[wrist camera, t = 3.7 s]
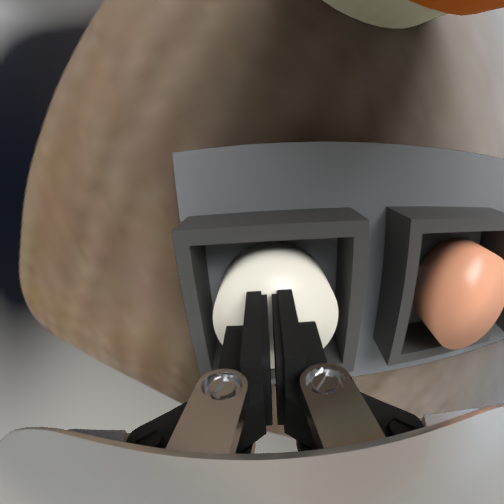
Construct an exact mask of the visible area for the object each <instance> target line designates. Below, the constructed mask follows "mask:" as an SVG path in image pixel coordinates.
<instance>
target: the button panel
mask: <svg viewBox="0 0 504 504" xmlns="http://www.w3.org/2000/svg"><path fill="white" fill-rule="evenodd" d="M172 154H173V165H174V175H175V184H176V193H177V201H178V209H179V217H180V224H179V225H178V226H177V227H176V228H175V229H174V230H173V231H172V238H173V244H174V250H175V257H176V263H177V269H178V274H179V280H180V285H181V291H182V296H183V301H184V306H185V311H186V316H187V321H188V326H189V330H190V335H191V339H192V344H193V348H194V353H195V357H196V361H197V365H198V369H199V373H200V377H202V376H203V375H204V374H206V373H208V372H210V371H213V370H217V369H218V368H219V362H220V357H221V351H222V346H223V345H222V344H221V343H220V341H219V339H218V337H217V335H216V333H215V330H214V326H213V309H214V305H215V301H216V298H217V294H218V291H219V288H220V284H221V281H222V278H223V275H224V273H225V270H226V269H227V267H228V265H229V264H230V263H231V261H232V260H233V259H234V258H235V257H236V256H237V255H239V254H240V253H241V252H243V251H244V250H246V249H248V248H250V247H252V246H255V245H257V244H261V243H267V242H283V243H288V244H292V245H295V246H297V247H300V248H302V249H303V250H305V251H307V252H308V253H309V254H311V255H312V256H313V257H314V258H315V259H316V260H317V262H318V263H319V265H320V266H321V268H322V270H323V272H324V274H325V276H326V278H327V280H328V282H329V285H330V287H331V289H332V291H333V293H334V295H335V298H336V301H337V304H338V323H337V327H336V330H335V332H334V334H333V336H332V338H331V340H330V341H329V343H328V344H327V345H326V346H325V347H324V348H323V349H324V353H325V356H326V360H327V363H329V364H335V365H338V366H341V367H342V368H344V369H346V370H347V372H348V373H349V374H350V376H351V377H354V376H361V375H367V374H373V373H379V372H385V371H390V370H395V369H400V368H405V367H410V366H414V365H419V364H423V363H427V362H431V361H435V360H439V359H443V358H447V357H451V356H454V355H458V354H461V353H464V352H468V351H471V350H474V349H477V348H480V347H484V346H487V345H489V344H492V343H495V342H498V341H501V340H504V307H503V310H502V312H501V314H500V315H499V317H498V319H497V320H496V322H495V323H494V325H493V326H492V327H491V328H490V330H489V331H488V332H487V333H486V334H485V335H484V336H483V337H481V338H480V339H479V340H478V341H476V342H475V343H473V344H471V345H469V346H467V347H465V348H461V349H454V350H453V349H448V348H445V347H443V346H442V345H441V344H440V343H439V342H438V340H437V339H436V338H435V336H434V335H433V334H432V333H431V331H430V330H429V329H428V328H427V326H426V325H425V324H424V323H423V321H422V320H421V319H420V318H419V316H418V315H417V314H416V312H415V310H414V307H413V298H414V292H415V286H416V280H417V274H418V270H419V268H420V266H421V264H422V262H423V261H424V259H425V258H426V257H427V255H428V254H429V253H430V252H431V251H432V250H433V249H434V248H435V247H436V246H437V245H439V244H440V243H442V242H443V241H445V240H447V239H450V238H453V237H464V238H468V239H470V240H472V241H473V242H475V243H477V244H479V245H481V246H482V247H484V248H486V249H488V250H489V251H491V252H493V253H495V254H496V255H498V256H500V257H501V258H502V259H503V260H504V159H503V158H498V157H493V156H488V155H482V154H476V153H470V152H464V151H457V150H450V149H442V148H433V147H424V146H413V145H401V144H387V143H367V142H285V143H265V144H249V145H237V146H225V147H215V148H206V149H198V150H190V151H182V152H175V153H172ZM271 384H276V379H275V368H271Z"/></svg>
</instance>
